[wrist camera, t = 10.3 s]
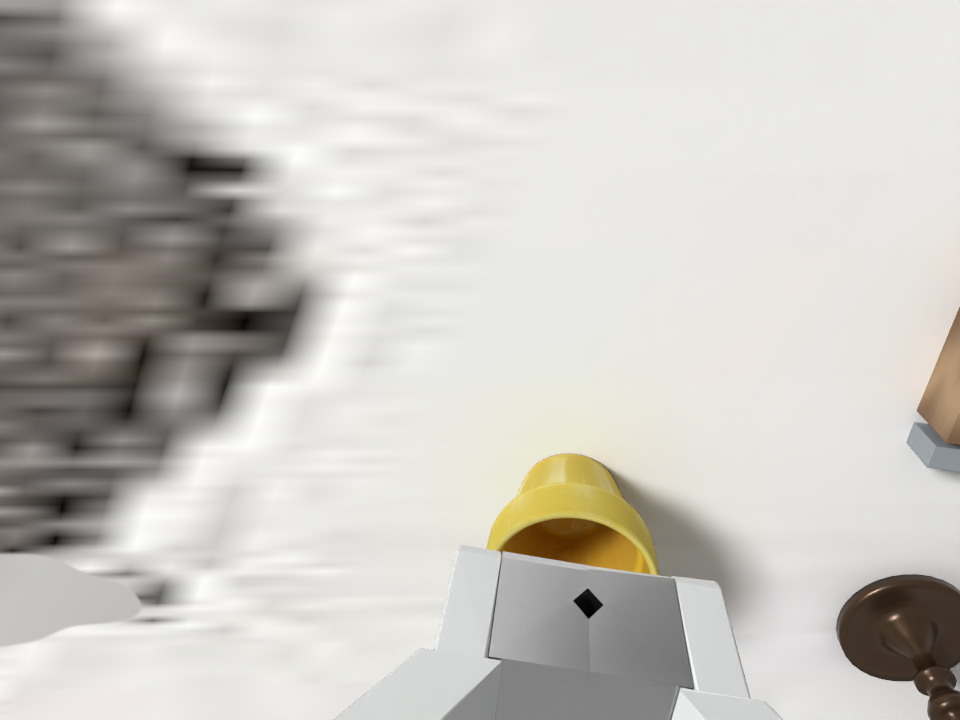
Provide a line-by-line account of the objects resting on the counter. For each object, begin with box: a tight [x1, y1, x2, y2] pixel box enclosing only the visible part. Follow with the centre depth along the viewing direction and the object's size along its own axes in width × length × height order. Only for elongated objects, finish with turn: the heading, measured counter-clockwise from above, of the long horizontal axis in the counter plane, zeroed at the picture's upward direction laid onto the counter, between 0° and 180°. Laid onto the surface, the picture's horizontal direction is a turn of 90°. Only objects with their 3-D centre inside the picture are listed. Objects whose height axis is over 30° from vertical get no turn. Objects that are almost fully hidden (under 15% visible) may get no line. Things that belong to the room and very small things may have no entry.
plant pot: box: [487, 454, 659, 575], centre depth 46 cm, size 10×10×10 cm
